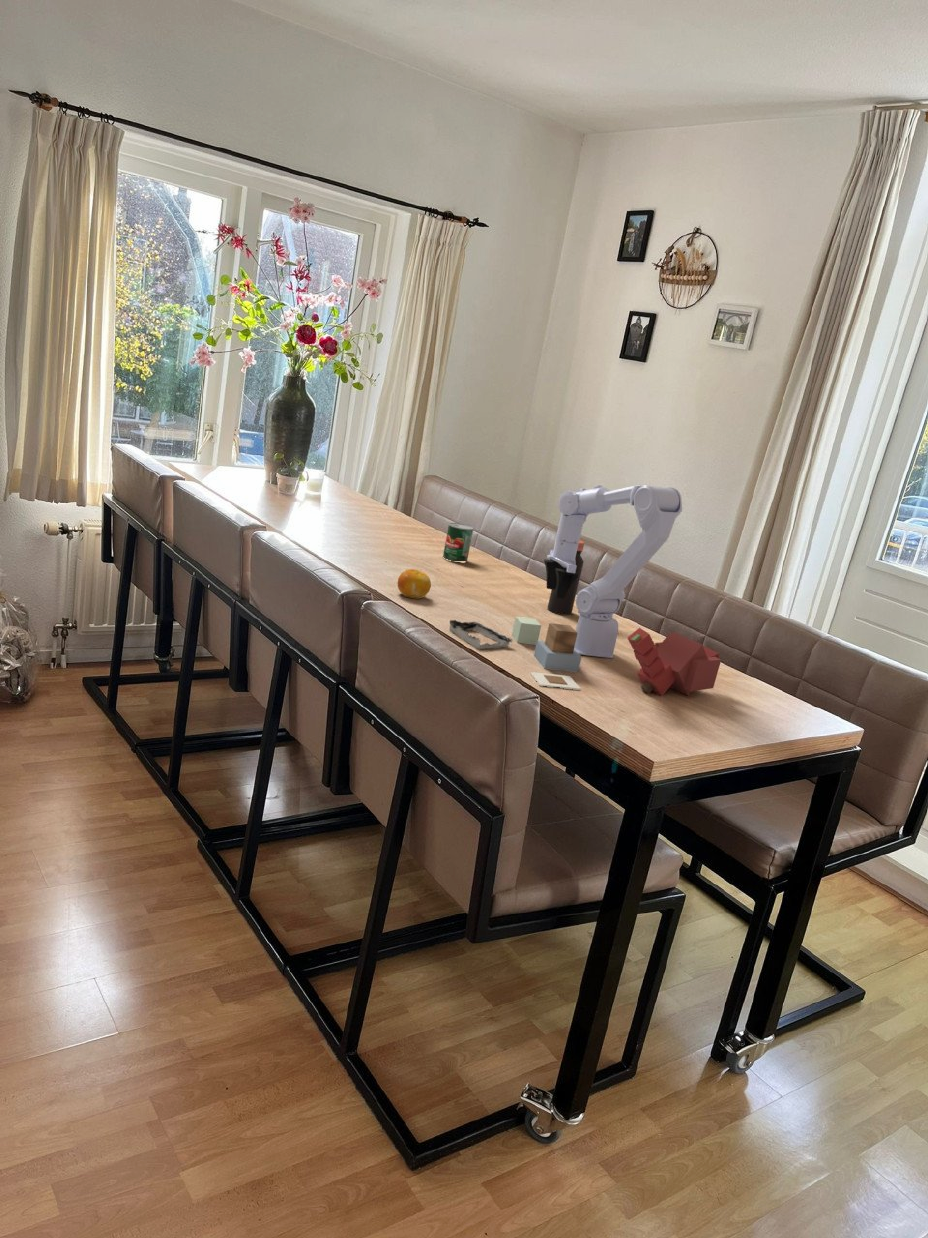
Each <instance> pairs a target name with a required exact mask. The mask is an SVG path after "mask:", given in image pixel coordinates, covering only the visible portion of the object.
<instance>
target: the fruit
mask: <svg viewBox="0 0 928 1238" xmlns="http://www.w3.org/2000/svg"><path fill="white" fill-rule="evenodd" d="M397 588H398V591H399V592H400V593H401V594H402V595H403V596H404V597H406V598H410V599H422V598H424V597H426V595H428V594H429V592H430V591H431V588H432V582H431V579H430V577H429V576H428V575H427V574H426V573H425V572H423V571H421V570H418V569H414V568H408V569H405V570H404V571H403V572H401V573H400V575H399V577H398V580H397Z"/></svg>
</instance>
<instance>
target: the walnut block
mask: <svg viewBox="0 0 928 1238" xmlns="http://www.w3.org/2000/svg"><path fill="white" fill-rule="evenodd" d="M577 634H578V632H577V631H576V629H574V628H573V627H572V626H571V625H569V624H559V623H552V622H551V623H550V622H549V623H548V627H547V633H546V637H545V641H544V642H545V645H546V646H547V647H548V648H549V649H550V650H551V651H552V652H560V653H570V654H573V651H574V647H575V643H576V638H577Z"/></svg>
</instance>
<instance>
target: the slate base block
mask: <svg viewBox="0 0 928 1238" xmlns="http://www.w3.org/2000/svg"><path fill="white" fill-rule="evenodd" d="M533 657H534V658H535V659H536V661H537V662H538V663H539V664H540V666H541V667H542V668H543V669H546V670H554V671H563V672H571V673H574V672H575V673H579V669H580V666H581V665H580V664H581V663H582V662H581V661H582V655H580V654H579V653H578V652H577V651H576V650H575V649H574V651H573V654H570V653H560V652H552V651H551V650H550V649H549V648H548V647H547V646H546V645H545V641H543V640H538V641H537V644H536V645H535V648H534V653H533Z"/></svg>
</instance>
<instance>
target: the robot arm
mask: <svg viewBox="0 0 928 1238" xmlns="http://www.w3.org/2000/svg"><path fill="white" fill-rule="evenodd" d="M625 504H626V505H627V504H629V505H631V506H633V507H634V510H635V514H636V516H637V521H638V524H639V527H640V528H641V532H640V533H639V534H638V535H637V536H636V538H635V539H634V540H633V541H632V542H631V544H630V545H628V547H627V548H626V550H625V551H624V552H623V553H622V554H621V555H620V556H619V558H618V559H617V560H616V561H615V562H614V564H613V565H612V566H611V567H610V568H609V570H608V571H607V572H606V573H605V574H604V575H603V577H601V578H599V579H596V580H595V581H593V582H591V583H590V584H589V585H588V586H587V587H584V588H582V589H580V590H579V591H578V592H577V593H576V597H575V605H576V609H577V613H578V614H579V615H578V619H577V625H576V628H575V630H576V631H577V632H578V634H577V638H576V643H575V647H574V649H575V650H576V651H577V652H578V653H579V654H580V655H581V656H582V655H583V656H590V657H591V656H592V657H598V658H605V659H606V658H608V659H614V655H613V654H614V650H615V646H616V643H617V639H618V634H619V622H618V620H617V619H616V618H613V616H614V614H616V613H618V611H619V609H620V607H621V604H622V602H623V600H624V599H625V598H626V593H625V591H624V589H626V587H627V586H628V585H629V584H630V583H631V582H632V581H633V579H634V578H635V577H636V576H637V575H638V574H639V573H640V571H641V570H642V569H643V568H644V567H645V566H646V564H648V562H649V561H650V560H651V559H652V558H653V556H655V554H656V553H658V551H659V550H660V549H661V548H662V546H663V545H664V544H665V543H666V542H667V541H668V539H669V537H670V534H671V532H672V529H673V526H674V523H675V521H676V518H678V516H679V515H681V513H682V511H683V502H682V495H681V493H680V492H679V490H678V489H676V487H675V488H674V487H662V486H653V485H652V486H651V485H649V484H645V485H632V486H626V487H623V488H619V489H614V490H610V489H608V488H607V487H605V486H603V485H594V486H593V488H590V489H586V488H580V489H579V491H572V490H567V491H565V492H562V494H561V495H560V496H559V499H558V509H559V512H560V519H559V522H558V526H557V532H556V536H555V541H554V546H553V549H550V552H549V554H547V555H546V558H547V559H546V558H545V559H544V560H543V563H544V566H545V571H546V572H545V573H546V589H547V590H552V589H553V590H555V589H556V597H557V598H565V597H566V595H567V593H568V591H569V589H570V587H571V585H572V583H573V582H574V581H575V580H576V579H577V578H578V576H579V574H578V573H577V572H575V571H576V567H577V566H576V564H575V563H576V560H575V557H576V553H577V548H578V544H579V540H580V539H581V535H582V529H583V525H584V524H585V522H586V520H587V517H588V516H589V515H590V514H597V513H603V512H604V513H605V512H608V511H609V510H610V509H611V508H612V506H614V505H615V506H616V505H625ZM580 541H581V540H580Z"/></svg>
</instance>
